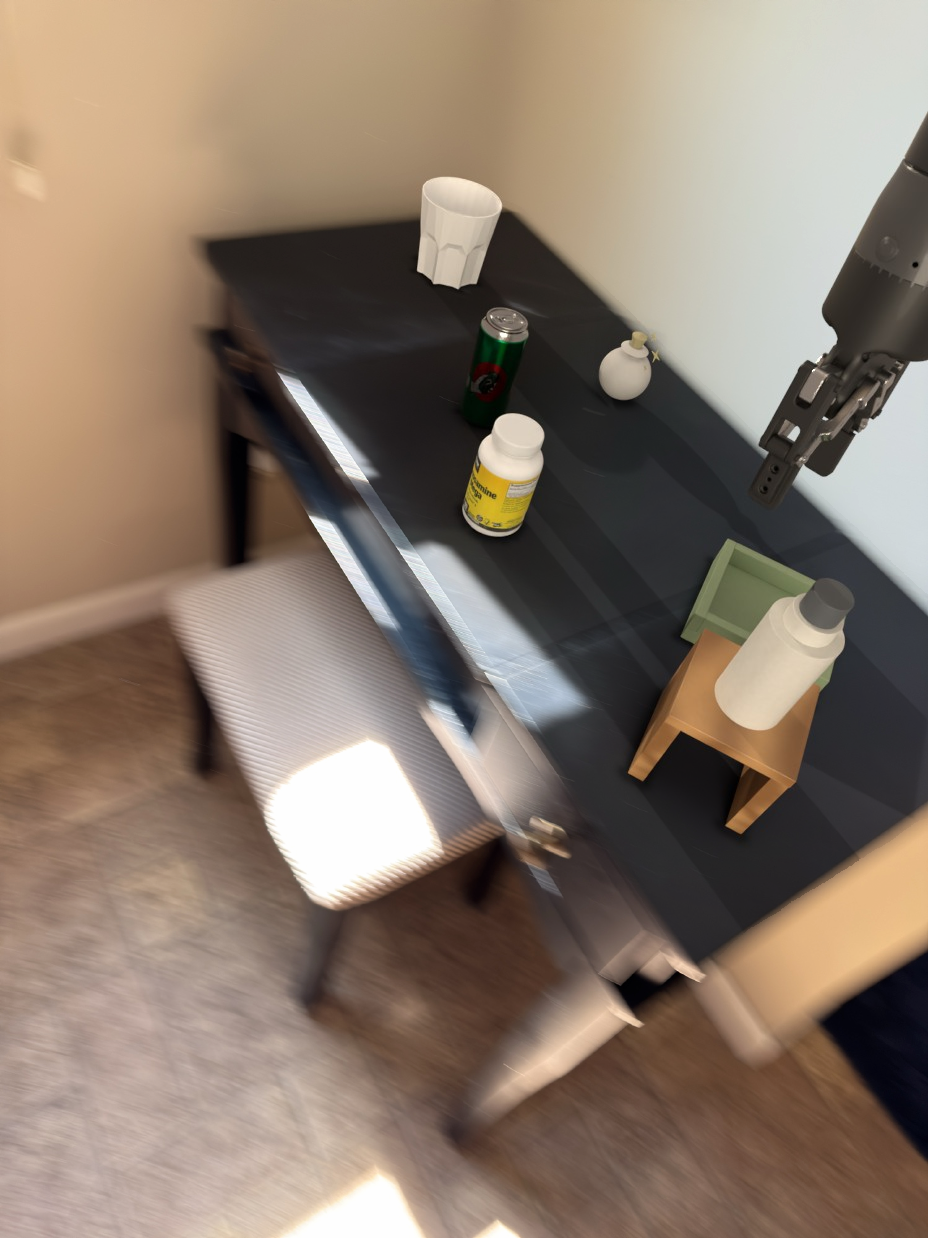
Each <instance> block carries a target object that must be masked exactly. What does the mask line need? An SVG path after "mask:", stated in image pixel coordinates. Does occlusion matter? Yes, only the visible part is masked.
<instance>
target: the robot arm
mask: <svg viewBox="0 0 928 1238" xmlns="http://www.w3.org/2000/svg"><path fill="white" fill-rule="evenodd" d="M880 192H881V193H880V194H879V195H878V197H877V199H876V201H875V203H874V204H873V206H872V208H871V210H870V212H869V214H868V216H867V218H866V220H865V221H864V224H863V226H862V227H861V230H860V231H859V233H858V235H857V237H856V239H855V241H854V243H853V244H852V247H851V249H850V251H849V253H848V255H847V256H846V259H845V261H844V263H843V265H842V266H841V267H840V270H839V272H838V274H837V276H836V278H835V279H834V282H833V283H832V286H831V287H830V290H829V291H828V293H827V295H826V297H825V299H824V301H823V303H822V306H821V315H822V318H823V320H824V322H825V323H826V324H827V326H828V327H831V328H832V330H833V332H834V333H835V336H836V343H835V344H834V345H833V346H832V347H831V349H830V350H829V352H826V351H825V352H823V353H822V354H821V355H820V356H819V357H818V359H817V360H816V362H813V361H812V360H810V359H805V361H804V362H803V363H801V364H800V365H799V367H798V368H797V372H796V373H795V376H794V377H793V379H792V380H791V383H790V384H789V386H788V388H787V390H786V392H785V393H784V395H783V397H782V399H781V401H780V403H779V405H778V406H777V408H776V410H775V412H774V413H773V416H772V417H771V419H770V421H769V422H768V425H767V426H766V428H765V430H764V432H763V434H762V435H761V436H760V437H759V441H758V444H757V446H758V447H759V448H760V449H763V450H764V451H766V452H767V454H766V456H765V458H764V460H763V462H762V463H761V466H760V467H759V469H758V471H757V473H756V475H755V477H754V479H753V481H752V483H751V484H750V486H749V488H748V490H747V495H748V497H749V498H750V499H751V500H752V501H753V502H755V503H757V504H758V505H760V506H761V507H763V508H765V509H766V510H768V511H772V510H775V509H776V508H777V507H780V505H781V504H782V502H783V501H784V499H785V498H786V496H787V494H788V492H789V490H790V488H791V487H792V485H793V483H794V481H795V480H796V478H797V476H798V474H799V473H800V471H801V468H803V466H804V467H805V468H806V469H808V470H810V471H811V472H813V473H815V474H817V475H818V476H819V477H822V478H826V477H828V476H830V475H832V473H834V471H835V470H836V468H837V466H838V465H839V464H840V462H841V460H842V459H843V457H844V455H845V454H846V452H847V450H848V449H849V447H850V445H851V444H852V442H853V441H854V438H855V437H856V435H857V434H856V433H858V434H859V433H862V431H863V430H865V429H866V428H867V427H868V425H869V423H868V422H869V421H870V419H871V420H872V421H874V420H875V419H876V418H877V417H879V416H880V415H881V414H882V412H883V408H884V407H885V405H886V404H887V402H888V400H889V399H890V398H891V395H892V394H893V392H894V390H895V388H896V387H897V385H898V384H899V382H900V380H901V379H902V377H903V375H904V374H905V372H906V370H907V369H908V367H909V365H910V363H919V362H920V363H921V362H926V361H928V111H927V112H926V114H925V116H924V117H923V119H922V122H921V123H920V125H919V127H918V129H917V131H916V133H915V134H914V137H913V139H912V141H911V143H910V144H909V146H908V148H907V150H906V152H905V154H904V158H902V160H901V162H900V163H899V165H898V166H897V168H896V170H895V172H894V173H893V174H892V176H891V177H890V179H889V181H888V182H887V183H886V185H885V186H884V188H883V189H882V191H880ZM824 418H826V420H825V419H824ZM796 427H798V429H799V433H798V435H797V436H796V438H795V440H792V439H791V438H789V437H788V436H789V435H790V434H791V433H792V432H793V430H794V429H795V428H796Z"/></svg>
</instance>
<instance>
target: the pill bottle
mask: <svg viewBox="0 0 928 1238" xmlns="http://www.w3.org/2000/svg"><path fill="white" fill-rule="evenodd" d="M544 440H545V431H544V429H543V427H542V426H541V425H540V424H539V422H537V421H536V420H534V419H533V418H531V417H530V416H527V415H524V414H522V413H521V414H520V413H514V412H513V413H505V415H502V416H500V417H499V418H498V419H497V420H496V421H495V424H494V426H492V430H491V433H490V434H489V435H487V436H486V437H485V438H484V439H483V440H482V441H481V443H480V445H479V447H478V450H477V453H476V457H475V460H474V464H473V467H472V471H471V475H470V478H469V482H468V484H467V487H466V492H465V494H464V495H465V496H464V499H463V503H462V514H463V517H464V519H465V521H466V522H467V523H468V524H469V526H470V527H471V528H472V529H474V530H475V531H476V532H478V533H481V534H483V535H486V536H489V537H506V536H509V535H512V534H514V533H516V532H517V531H518V530H520V528H521V526H522V525H523V522H524V519H525V516H526V513H527V511H528V509H529V507H530V503H531V500H532V498H533V495H534V492H535V490H536V486H537V484H538V481H539V478H540V475H541V474H542V470H543V468H544V467H543V466H544V455H543V452H542V450H541V449H542V446H543V443H544Z"/></svg>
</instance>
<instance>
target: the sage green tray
mask: <svg viewBox="0 0 928 1238" xmlns="http://www.w3.org/2000/svg"><path fill="white" fill-rule="evenodd" d="M816 581H817V580H814V579H812V578H811V577H808V576H806V575H805V574H802V573H800V572H798V571H796V570H794V569H792V568H790V567H788V566H786V565H785V564H782V563H780V562H778V561H776V560H773V559H772V558H770V557H767V556H765V555H763V554H761V553H759V552H757V551H755V550H753V549H751V548H748V547H747V546H745V545H743V544H741V543H738V542H736V541H735V540H733V539H730V538H727V539H726V540H725V542H724V543H723V545H722V547H721V549H719V551H718V553H717V555H716V556H715V558H714V560H713V561H712V563H711V565H710V568H709V570H708V573H707V575H706V577H705V580H704V581H703V584H702V586H701V589H700V590H699V593H698V595H697V597H696V600H695V602H694V604H693V607H692V608H691V611H690V613H689V616H688V618H687V620H686V622H685V625H684V627H683V629H682V632H681V634H680V638H682V639H684V640H685V641H687V642H689V643H691V644H693V645H694V644H695V643H696V641H697V640H698V638H699V637H700V635H701V633H702V632H703V630H704V629H705V628H706V629H708V630H710V631H712V632H714V633H716V634H718V635H720V636H722V637H724V638H725V639H727V640H729V641H731V642H733V643H735V644H737V645H739V646H741V647H742V646H743V644H744V643H745V642H746V640H747V639H748V638H749V636H750V635H751V634H752V632H753V631H754V630H755V628H756V627H757V625H758V624H759V623H760V621H761V620H762V619H763V617H764V616H765V615H766V613H767V612H768V611H769V609H770V608H771V607H772V605H773V604H774V603H775V602H776V601H778V600H780V599H782V598H786V597H797V596H798V595H800V594H803V593H807V592H808V591H809V589H810V588H811V587H812V586H813V584H814V583H815V582H816ZM846 618H847V615H846V616H845V617H844V618H843V619H844V623H846ZM843 629H844V628H843ZM843 629H842V630H843ZM835 661H836V659H835V660H834V661H833V662H832V663H831V664H830V665H829V667H828V668H827V669H826V670H825V671H824V672H823V673H822V674H821V676H820V677H819V678H818V679H817V680H816V681H815V682H814V684H816V685H818V686H820V687H821V688H820V692H821V691H823V690H824V688H825V687H826V686H827V685H828V684H829V683H830V680H831V676H832V673H833V669H834V665H835Z"/></svg>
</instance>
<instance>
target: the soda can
mask: <svg viewBox="0 0 928 1238" xmlns="http://www.w3.org/2000/svg"><path fill="white" fill-rule="evenodd" d="M528 327H529V322H528V320H527V318H526V317H525V316H524V315H523V314H522V313H520V312H518V311H517V310H514V309H511V308H508V307H493V308H491V309H489V310H488V311H487V312H486V315H485V316H484V317H483V318H482V319H481V321H480V324H479V327H478V332H477V336H476V340H475V344H474V347H473V351H472V356H471V360H470V364H469V367H468V372H467V376H466V379H465V380H466V381H465V384H464V387H463V392H462V397H461V401H460V404H459V407H460V408H459V409H460V413H462V415H463V417H464V418H465V419H466V420H467V421H468V422H469V423H470V424H473V425H475V426H479V427H483V428H490V427H494V424H495V421H496V420H497V419H498V418H499V417H500V416H502V415H505V414H507V410H508V406H509V403H510V400H511V396H512V393H513V389H514V386H515V383H516V380H517V377H518V373H519V369H520V366H521V363H522V359H523V356H524V353H525V350H526V346H527V343H528V339H529V336H530V332H529V329H528Z"/></svg>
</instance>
